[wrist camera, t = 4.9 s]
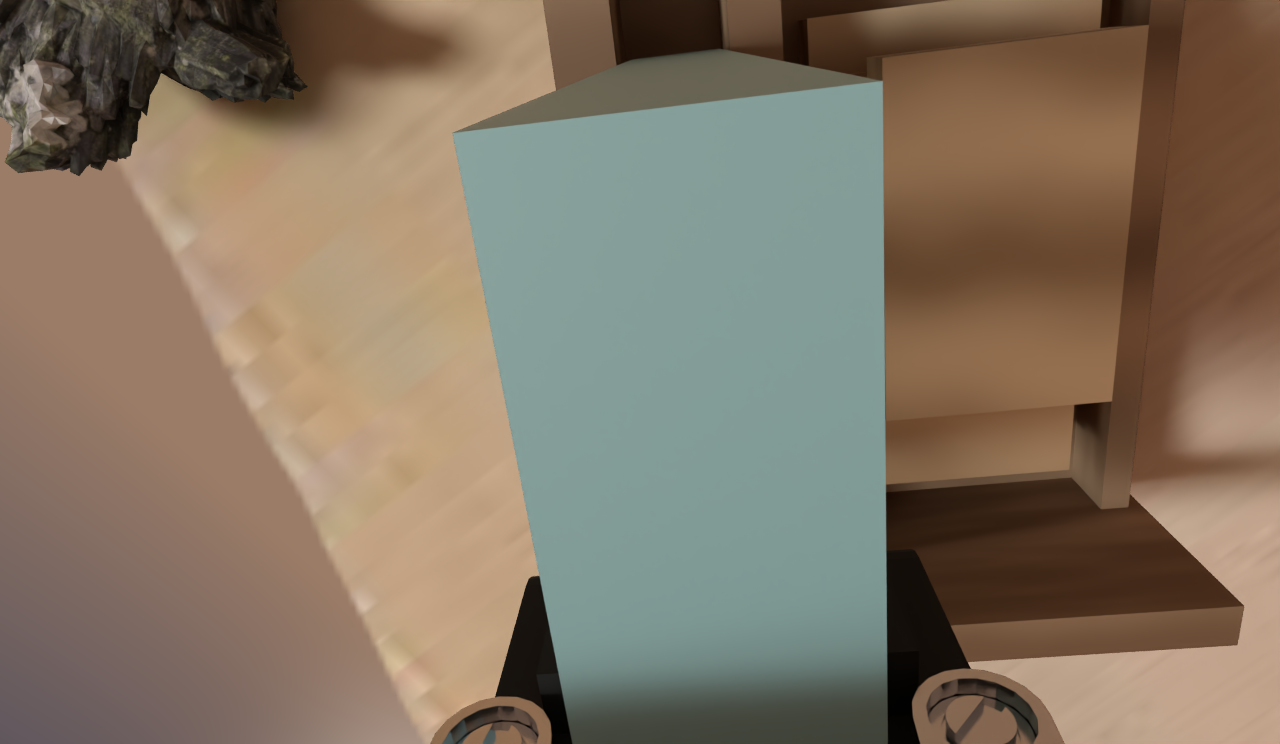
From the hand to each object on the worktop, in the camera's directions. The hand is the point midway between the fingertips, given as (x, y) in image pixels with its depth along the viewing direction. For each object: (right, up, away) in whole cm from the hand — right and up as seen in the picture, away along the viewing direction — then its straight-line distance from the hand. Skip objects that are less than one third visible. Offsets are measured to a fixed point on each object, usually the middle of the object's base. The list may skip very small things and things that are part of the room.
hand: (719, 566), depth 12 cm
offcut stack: (+10, +8, +18) cm, 22 cm away
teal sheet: (+1, +6, +14) cm, 15 cm away
